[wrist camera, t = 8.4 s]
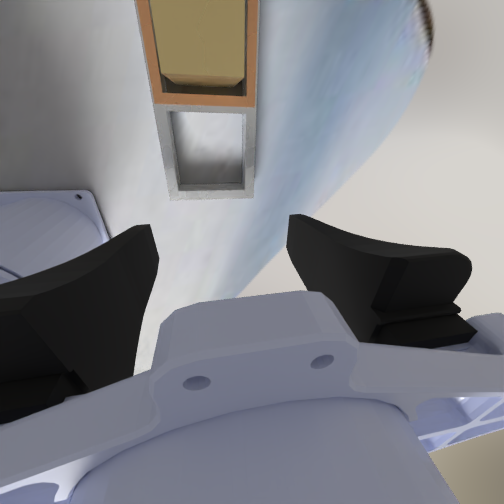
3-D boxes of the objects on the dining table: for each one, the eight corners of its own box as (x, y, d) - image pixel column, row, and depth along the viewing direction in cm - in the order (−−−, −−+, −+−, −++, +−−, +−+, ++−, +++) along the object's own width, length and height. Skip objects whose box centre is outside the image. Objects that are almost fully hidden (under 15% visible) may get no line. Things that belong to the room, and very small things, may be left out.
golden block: (177, 84, 16) (161, 72, 10) (167, 4, 14) (140, -63, 8) (232, 87, 16) (244, 77, 11) (231, 10, 14) (245, -48, 9)
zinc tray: (173, 192, 20) (169, 201, 18) (91, -292, 9) (62, -394, 7) (249, 191, 21) (253, 198, 19) (260, -243, 10) (271, -322, 8)
